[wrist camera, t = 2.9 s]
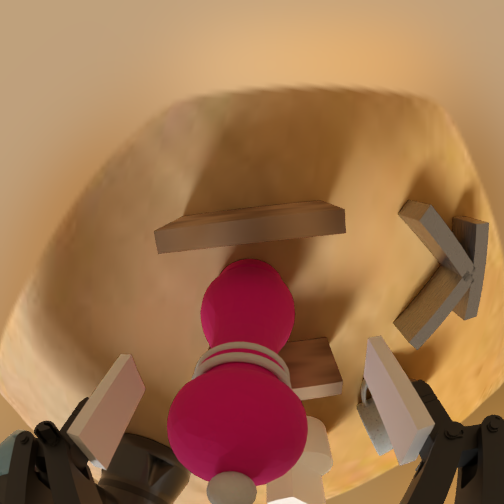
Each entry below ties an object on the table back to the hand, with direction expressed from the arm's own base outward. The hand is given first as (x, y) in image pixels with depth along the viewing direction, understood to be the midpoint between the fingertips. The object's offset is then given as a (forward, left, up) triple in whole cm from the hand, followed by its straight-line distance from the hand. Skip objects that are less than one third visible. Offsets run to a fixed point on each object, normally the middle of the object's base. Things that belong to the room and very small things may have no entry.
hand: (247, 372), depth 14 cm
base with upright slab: (+3, -22, -12) cm, 25 cm away
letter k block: (+18, 0, -12) cm, 22 cm away
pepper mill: (0, 0, -12) cm, 12 cm away
